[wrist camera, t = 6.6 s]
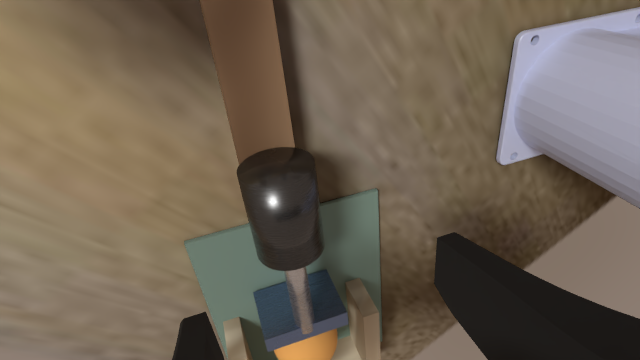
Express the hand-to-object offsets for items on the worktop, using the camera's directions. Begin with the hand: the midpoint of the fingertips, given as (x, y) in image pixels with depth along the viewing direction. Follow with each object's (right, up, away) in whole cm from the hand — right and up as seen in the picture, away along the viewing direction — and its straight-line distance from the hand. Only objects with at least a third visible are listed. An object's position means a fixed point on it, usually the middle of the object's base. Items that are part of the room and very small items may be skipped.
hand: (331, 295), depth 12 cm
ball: (-1, -6, +12) cm, 14 cm away
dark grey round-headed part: (-3, +1, +10) cm, 10 cm away
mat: (-2, -4, +14) cm, 15 cm away
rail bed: (-4, +8, +6) cm, 10 cm away
